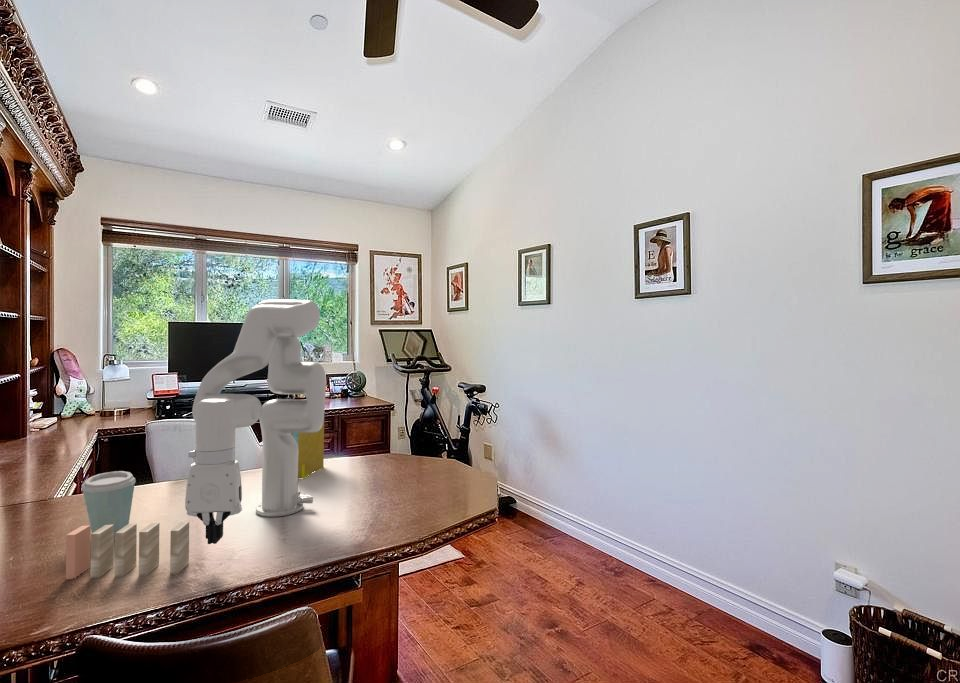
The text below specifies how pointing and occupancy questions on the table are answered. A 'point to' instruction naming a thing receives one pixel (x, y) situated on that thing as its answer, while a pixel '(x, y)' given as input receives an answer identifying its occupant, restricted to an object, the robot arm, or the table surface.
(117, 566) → the domino
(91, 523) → the disposable coffee cup
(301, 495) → the robot arm
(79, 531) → the domino
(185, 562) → the domino
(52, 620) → the table surface
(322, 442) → the book
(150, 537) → the domino
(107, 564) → the domino
